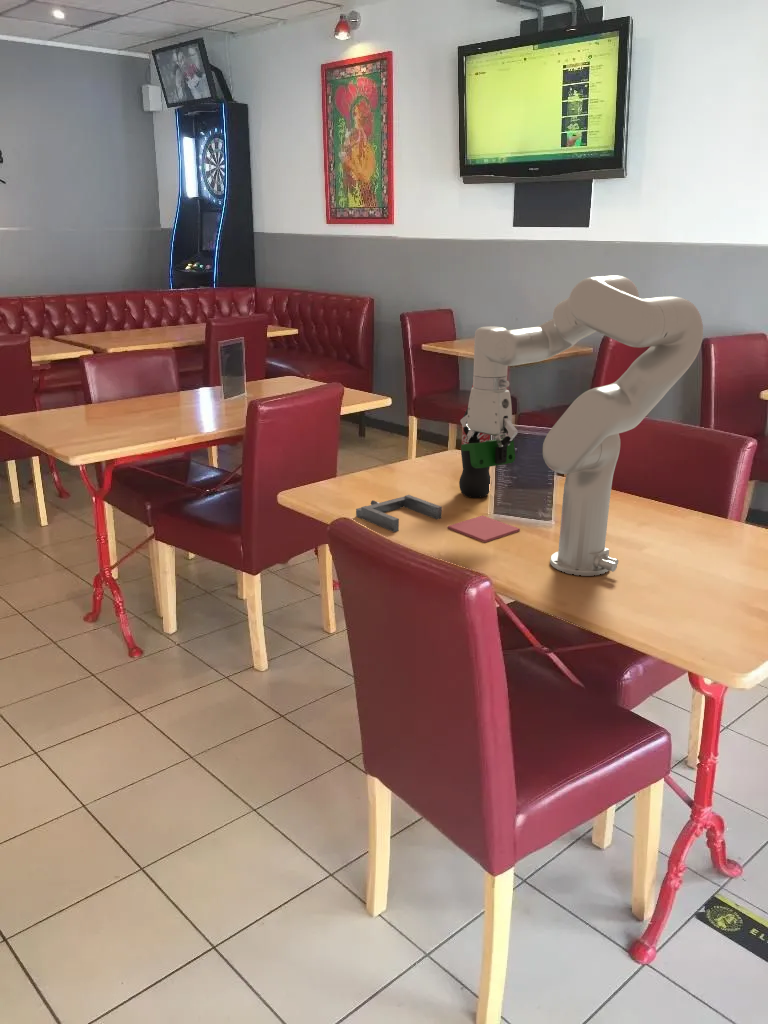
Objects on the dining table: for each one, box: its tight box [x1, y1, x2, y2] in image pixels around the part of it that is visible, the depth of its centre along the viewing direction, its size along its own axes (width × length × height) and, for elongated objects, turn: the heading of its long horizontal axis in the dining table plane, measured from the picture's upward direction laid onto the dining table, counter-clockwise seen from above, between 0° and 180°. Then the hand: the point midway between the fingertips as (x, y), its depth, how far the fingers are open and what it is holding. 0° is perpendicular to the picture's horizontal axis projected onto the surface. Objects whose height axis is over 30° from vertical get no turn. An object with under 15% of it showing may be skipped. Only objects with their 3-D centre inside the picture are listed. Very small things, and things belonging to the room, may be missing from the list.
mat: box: [447, 514, 521, 543], centre depth 204 cm, size 12×12×1 cm
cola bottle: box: [458, 386, 491, 499], centre depth 225 cm, size 8×8×30 cm
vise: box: [355, 494, 443, 533], centre depth 212 cm, size 17×16×3 cm
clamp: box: [460, 438, 516, 468], centre depth 198 cm, size 12×6×9 cm, turn 116°
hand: (486, 459), depth 198 cm, fingers closed on clamp, 7 cm apart
